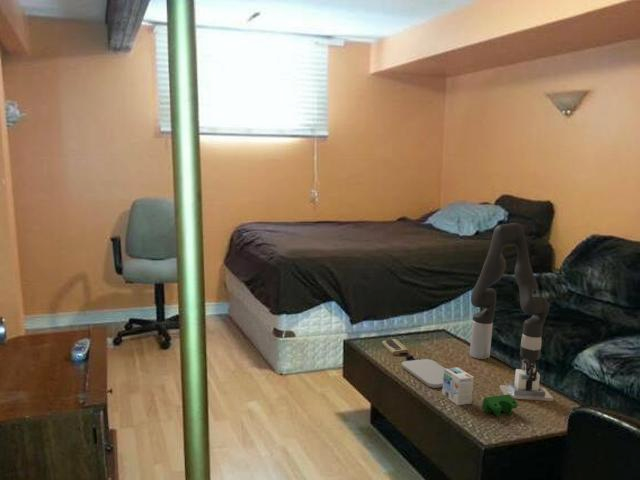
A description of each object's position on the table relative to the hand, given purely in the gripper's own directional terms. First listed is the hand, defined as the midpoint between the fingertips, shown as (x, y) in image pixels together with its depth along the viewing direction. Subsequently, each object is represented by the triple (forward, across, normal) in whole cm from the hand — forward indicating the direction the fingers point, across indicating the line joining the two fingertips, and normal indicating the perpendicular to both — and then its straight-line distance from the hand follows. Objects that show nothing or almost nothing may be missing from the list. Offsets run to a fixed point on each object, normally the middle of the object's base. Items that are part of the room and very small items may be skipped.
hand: (526, 386), depth 222 cm
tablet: (+4, -14, -36) cm, 39 cm away
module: (+1, 0, 0) cm, 1 cm away
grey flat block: (+3, 0, 0) cm, 3 cm away
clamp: (+4, +19, -15) cm, 25 cm away
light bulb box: (+4, +9, -29) cm, 31 cm away
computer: (+4, -44, -49) cm, 66 cm away
